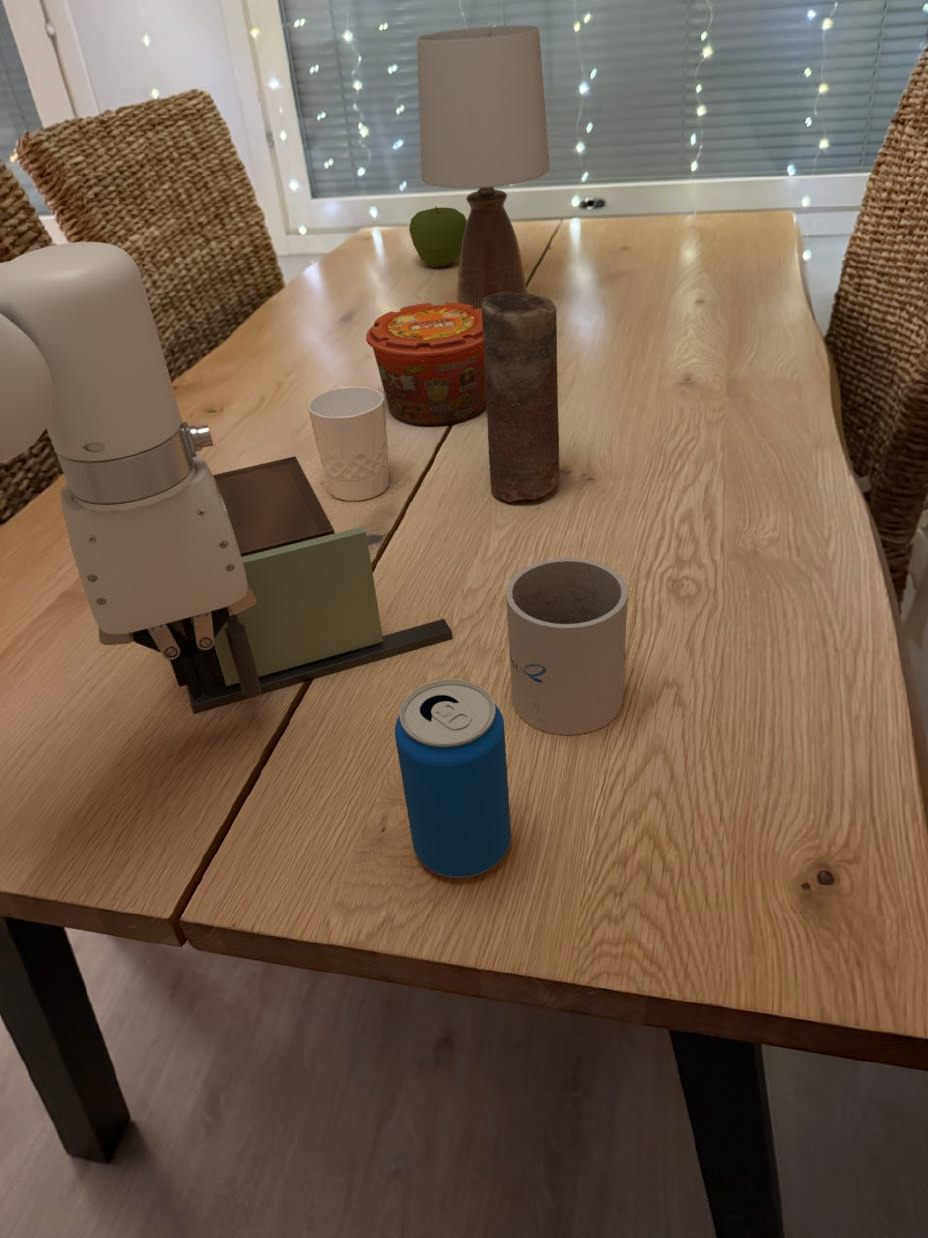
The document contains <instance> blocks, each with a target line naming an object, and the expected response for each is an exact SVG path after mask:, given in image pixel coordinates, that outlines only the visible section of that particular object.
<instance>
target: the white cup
mask: <svg viewBox="0 0 928 1238" xmlns="http://www.w3.org/2000/svg"><path fill="white" fill-rule="evenodd" d="M385 407H386V406H385V395H384V393H382V392H381V391H379V390H378V389H375V388H372V387H369V386H357V385H354V386H353V385H352V386H351V385H350V386H342V387H337V388H332V389H329V390H325V391H323V392H321V393H319V394H317V395H315V396H314V397H313V398H311V399H310V400H309V402H308V404H307V409H308V414H309V417H310V423H311V427H312V432H313V436H314V439H315V444H316V448H317V452H318V455H319V460H320V464H321V467H322V470H323V471H324V475H325V480H326V481H325V482H326V485H327V490H328V493H329V494H331V496H332V497H334V498H335V499H338V500H342V501H345V502H348V501H349V502H360V501H365V500H369V499H372V498H376V497H378V496H379V495H381V494H383V493H384V492H385V491H386V490H387V489H388V488H389V486H390V480H389V479H390V478H389V444H388V432H387V420H386V408H385Z"/></svg>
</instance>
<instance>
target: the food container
mask: <svg viewBox="0 0 928 1238" xmlns="http://www.w3.org/2000/svg"><path fill="white" fill-rule="evenodd" d="M365 337H366V338H365V339H366V344H367V345H369V346H370V347H372V350H373V353H374V358H375V361H376V366H377V369H378V373H379V377H380V382H381V384H382V388H383V394H384V397H385V400H386V403H387V408H388V410H389V411H388V412H389V413H390V414H391V415H392V416H393V417H394V418H395V419H397V420H398V421H400V422H403V423H406V424H408V425H413V426H421V427H436V426H437V427H439V426H448V425H455V424H459V423H463V422H465V421H468V420H470V419H472V418H474V417H477V416H478V415H480V414H481V413H482V412H484V411H485V410H486V409H487V403H486V382H485V364H484V342H483V327H482V309H481V308H479V309H474V308H473V306H472V305H468V304H463V303H457V302H450V301H449V302H444V304H432V303H431V302H425V303H417V304H413V305H408V306H403V307H401V308H400V310H399V311H393V310H392V311H388V312H386V313H384V314H382V315H380V316H379V317H378V318H376V319H375V320H374V322H373V325H372V326H371V327H370V328H369V329H368V330H367V332H366V335H365Z"/></svg>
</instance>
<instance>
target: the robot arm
mask: <svg viewBox="0 0 928 1238" xmlns="http://www.w3.org/2000/svg"><path fill="white" fill-rule="evenodd" d="M162 347H163V346H162V344H161V341H160V336H159V334H158V330H157V326H156V323H155V320H154V315H153V311H152V309H151V305H150V301H149V298H148V294H147V291H146V287H145V283H144V281H143V278H142V275H141V272H140V269H139V267H138V264H137V263H136V262H135V260H134V259H133V257H132V256H131V255H130V254H129V253H128V252H127V251H126V250H125V249H123V248H121V247H118V246H117V245H115V244H111V243H106V242H99V241H77V242H68V243H67V242H66V243H61V244H55V245H51V246H46V247H42V248H37V249H35V250H31V251H27V252H25V253H23V254H21V255H18V256H15V258H13V259H11V260H10V261H4V262H0V464H3V463H4V462H8V461H11V460H13V459H14V458H16V457H18V456H20V455H21V454H23V453H25V452H27V451H28V450H29V449H30V448H31V447H33V445H34V444H36V442H37V441H38V440H39V439H40V437H41V436H42V435H43V434H44V432H45V430H46V431H47V434H48V436H49V439H50V441H51V444H52V447H53V449H54V451H55V454H56V456H57V459H58V462H59V465H60V467H61V470H62V472H63V476H64V478H65V480H66V483H65V484H64V485H63V486H62V488H61V489H60V500H61V501H60V502H61V507H62V508H61V509H62V514H63V519H64V523H65V528H66V531H67V536H68V539H69V544H70V549H71V552H72V555H73V559H74V562H75V566H76V569H77V572H78V575H79V579H80V582H81V584H82V588H83V592H84V594H85V597H86V600H87V603H88V605H89V607H90V611H91V614H92V616H93V619H94V620H95V623H96V624H97V628H98V638H99V642H100V644H102V645H104V646H115V645H117V646H118V645H129V644H131V643H136V644H138V645H140V646H142V647H145V648H148V649H151V650H153V651H156V652H158V653H161V655H162V657H163V658H164V659H166V660H169V662H170V665H171V667H172V671H173V674H174V676H175V679H176V682H177V686H178V687H179V688H182V687H186V685H189V688H190V691H191V694H192V697H193V700H197V699H200V698H201V696H203V693H202V689H201V684H202V687H203V690H204V693H205V695H207V694H208V696H211V695H214V694H215V690H214V686H213V681H212V678H213V677H216V676H220V671H219V667H218V664H217V660H216V657H215V654H214V651H213V645H214V638H215V637H216V635H217V634H218V633H219V631H220V630H221V628H222V627H223V626H224V624H225V623H226V621H227V620H228V618H229V616H231V615H233V614H234V615H236V614H238V613H240V612H242V611H244V610H246V609H248V608H250V607H252V606H253V605H255V604H256V602H257V598H256V596H255V593H254V590H253V588H252V586H251V584H250V583H249V581H248V580H247V578H246V573H245V568H244V564H243V560H242V557H241V554H240V550H239V547H238V544H237V540H236V537H235V534H234V531H233V528H232V525H231V522H230V519H229V516H228V513H227V510H226V506H225V503H224V501H223V498H222V496H221V493H220V491H219V488H218V485H217V483H216V481H215V479H214V477H213V475H214V474H213V472H212V471H211V468H210V467H209V465H208V463H207V462H206V460H205V458H204V457H203V456H202V455H200V454H197V452H200V451H203V448H207V447H213V446H214V441H213V438H212V434H211V431H210V427H209V424H203V425H198V426H196V424H193V425H189V423H188V421H184V422H183V421H182V416H181V412H180V408H179V404H178V401H177V397H176V394H175V391H174V387H173V384H172V383H173V382H172V379H171V376H170V372H169V368H168V365H167V362H166V358H165V355H164V350H163V348H162ZM188 617H191V622H192V626H191V628H190V629H189V633H190V634H188V639H189V643H190V647H191V650H190V647H189V644H188V641H187V638H186V635H185V636H183V635H182V632H179V631H176V629H175V627H174V625H173V623H172V622H174V621H177V620H181V619H185V618H188ZM191 652H192V653H191ZM192 656H193V657H192ZM193 659H194V660H193ZM194 662H195V663H194ZM195 665H196V666H195ZM196 668H197V669H196ZM199 678H200V680H199ZM200 681H201V684H200Z"/></svg>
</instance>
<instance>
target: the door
mask: <svg viewBox="0 0 928 1238" xmlns="http://www.w3.org/2000/svg"><path fill="white" fill-rule="evenodd" d="M367 535H368V534H367V531H366V529H365V528H364V526H359V527H355V528H350V529H347V530H343V531H340V532H339V531H338V532H336V533H335V534H331V535H327V536H323V537H319V538H315V539H311V540H307V541H303V542H299V543H295V544H291V545H287V546H283V547H279V548H275V549H271V550H267V551H263V552H259V553H255V554H251V555H247V556H243V557H242V560H243V564H244V568H245V573H246V578H247V580H248V581H249V583H250V584H251V586H252V588H253V590H254V593H255V596H256V598H257V602H256V604H255V605H253V606H252V607H250V608H248V609H246V610H244V611H242V612H240V613H238V614H236V615H234V614H233V615H231V616H229V618H228V620H227V621H226V623H225V624H224V626H223V627H222V628H221V630H220V631H219V633H218V634H217V635H216V637H215V638H214V647H215V650H216V653H217V657H218V660H219V663H220V667H221V670H222V673H223V677H224V680H225V683H226V686H229V685H233V684H236V683H240V685H241V688H242V692H243V695H244V696H246V697H248V698H254V697H257V696H259V695H261V694H260V692H261V685H260V681H259V678H258V677H261V676H264V675H268V674H272V673H275V672H279V671H282V670H286V669H289V668H293V667H296V666H300V665H303V664H307V663H310V662H314V661H317V660H321V659H324V658H328V657H331V656H335V655H338V654H342V653H345V652H349V651H352V650H356V649H359V648H363V647H366V646H370V645H373V644H377V643H380V642H383V636H384V635H383V631H382V624H381V618H380V611H379V605H378V598H377V592H376V586H375V579H374V573H373V567H372V561H371V560H372V559H371V554H370V548H369V542H368V536H367Z"/></svg>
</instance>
